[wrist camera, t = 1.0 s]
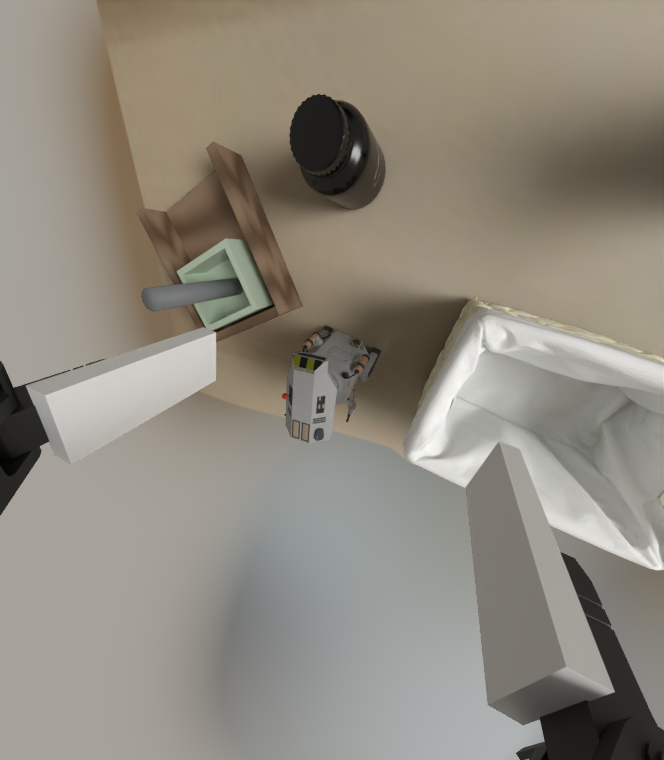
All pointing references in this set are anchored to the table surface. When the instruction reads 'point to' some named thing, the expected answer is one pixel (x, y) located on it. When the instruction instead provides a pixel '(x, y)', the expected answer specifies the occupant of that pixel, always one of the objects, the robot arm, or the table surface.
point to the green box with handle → (216, 286)
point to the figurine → (324, 382)
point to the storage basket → (552, 422)
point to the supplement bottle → (337, 151)
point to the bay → (222, 234)
